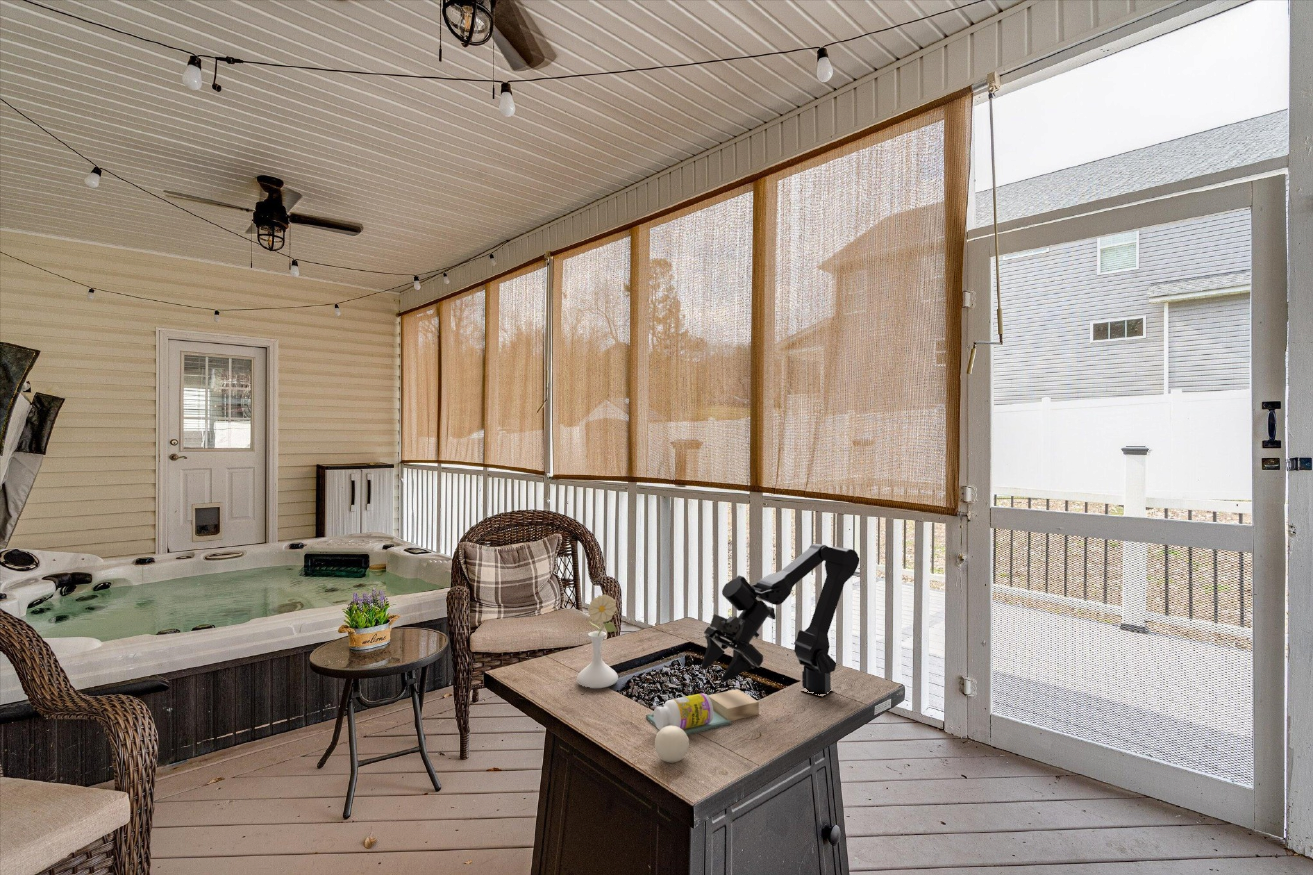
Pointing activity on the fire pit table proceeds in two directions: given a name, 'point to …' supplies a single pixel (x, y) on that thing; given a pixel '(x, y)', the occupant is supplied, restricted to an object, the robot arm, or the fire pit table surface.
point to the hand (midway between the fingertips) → (712, 674)
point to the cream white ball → (671, 744)
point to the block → (734, 705)
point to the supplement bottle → (685, 712)
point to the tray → (716, 722)
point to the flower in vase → (599, 645)
